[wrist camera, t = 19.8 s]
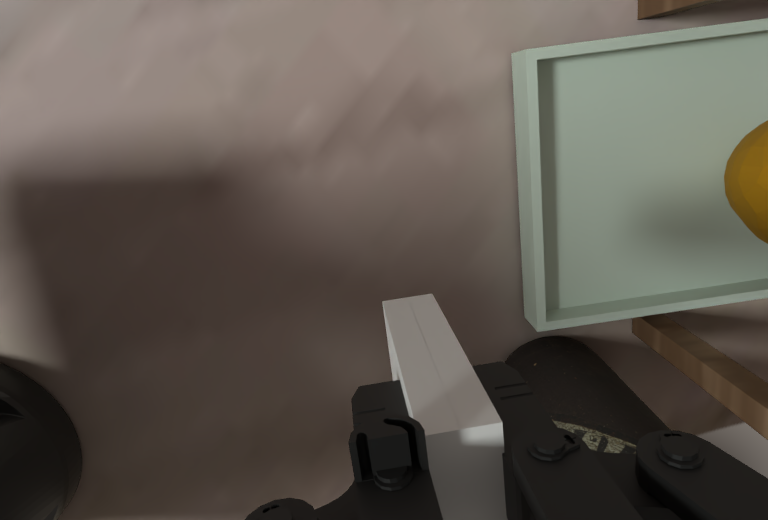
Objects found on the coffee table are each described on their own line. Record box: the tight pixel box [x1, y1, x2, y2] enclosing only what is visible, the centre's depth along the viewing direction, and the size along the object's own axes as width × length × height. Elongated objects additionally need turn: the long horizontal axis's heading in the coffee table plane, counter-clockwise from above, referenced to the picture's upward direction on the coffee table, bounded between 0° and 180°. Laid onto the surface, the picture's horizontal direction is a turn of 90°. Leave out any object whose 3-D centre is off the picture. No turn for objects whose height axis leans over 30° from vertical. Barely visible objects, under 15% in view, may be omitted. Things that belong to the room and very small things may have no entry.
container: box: [505, 337, 671, 454], centre depth 29 cm, size 9×9×20 cm
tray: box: [512, 18, 768, 332], centre depth 33 cm, size 24×17×2 cm
